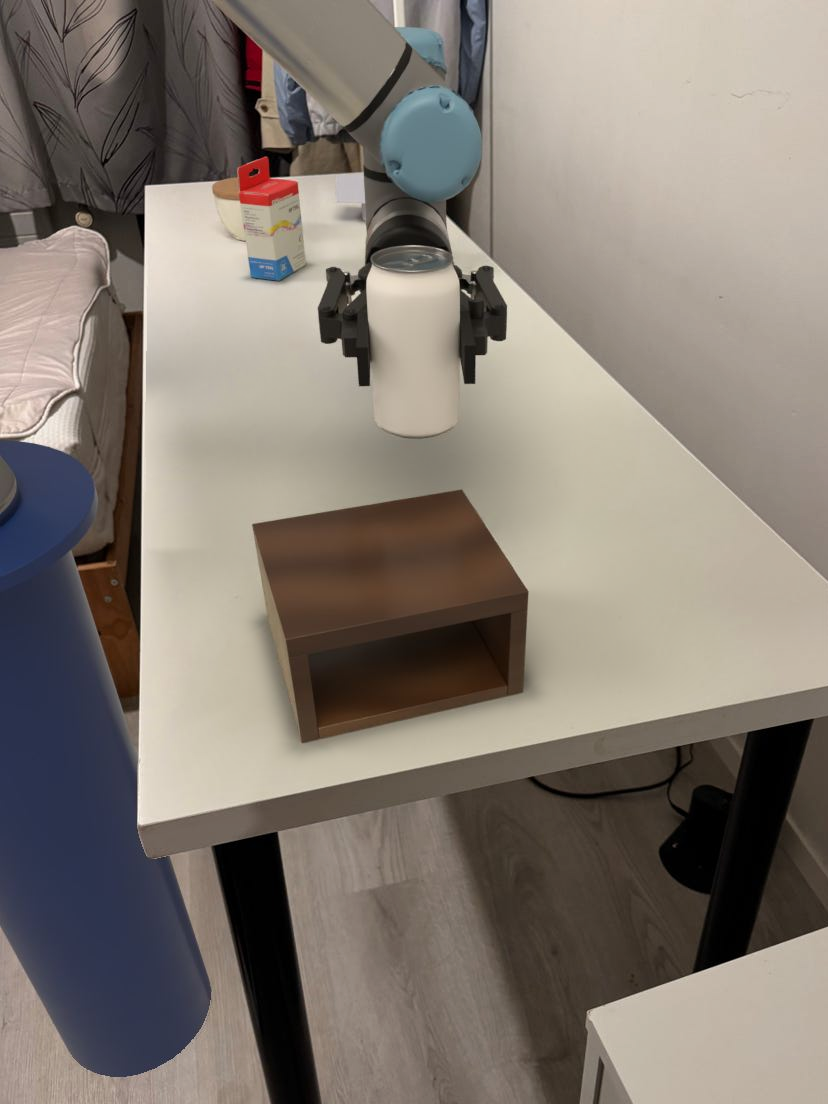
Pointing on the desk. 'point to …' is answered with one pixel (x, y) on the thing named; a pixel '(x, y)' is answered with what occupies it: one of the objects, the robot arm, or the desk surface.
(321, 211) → the desk surface
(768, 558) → the desk surface
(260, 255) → the ink box
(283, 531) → the shelf
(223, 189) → the trinket box
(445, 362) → the can
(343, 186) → the wedge on round base
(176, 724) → the desk surface
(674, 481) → the desk surface
